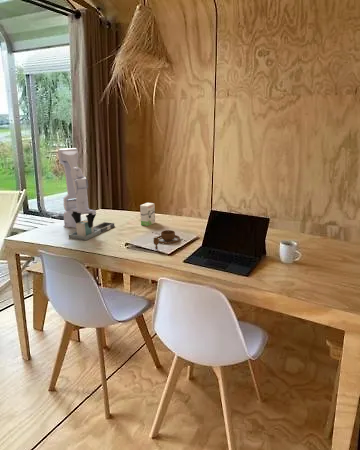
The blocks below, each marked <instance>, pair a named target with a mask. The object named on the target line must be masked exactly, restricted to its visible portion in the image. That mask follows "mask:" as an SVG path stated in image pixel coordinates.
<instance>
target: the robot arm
mask: <svg viewBox="0 0 360 450" xmlns="http://www.w3.org/2000/svg"><path fill="white" fill-rule="evenodd" d="M57 155H58V156H57V157H58V162H59V165H62V166H63V169H64V175H65V176H64V177H65V185H66V191H67V194H66V195H65V196H64V197H63V207H64V210H65V211H64V212H63V227H66V228H73V229H76V223H79V222H81V221H82V214H85V217H86V219H87V220H88V226H89V228H91V227H92V225H93V226H94V220H95V218H96V215H97V210H96V209H91V208H89V199H88V198H89V197H88V188H89V183H88V182H89V181H88V179H87V177H86V176H84V173H83V171H82V168H81V167H79V165H78V159H79V151H78V148H76V147H72V148H71V147H69V148H58V151H57Z"/></svg>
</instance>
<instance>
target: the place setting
mask: <svg viewBox="0 0 360 450" xmlns="http://www.w3.org/2000/svg"><path fill="white" fill-rule="evenodd" d="M156 237H157V238H153V244H154V246H155V247H154V248H155V250H156V249H158V245H159V244H162V243H164V244H163V245H173V244H177V243H178V242H180V241H181V237H180V236H179V235H177V234H176V232H175V230H169V229H167V230H163V231H161V232H160V235H157V236H156ZM160 237H162V238H160ZM158 238H160V239H162V240H163V241H161V240H160V239H158ZM174 239H175V240H174ZM176 239H177V240H176ZM164 240H165V241H164ZM173 240H174V241H173ZM159 242H160V243H159Z"/></svg>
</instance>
